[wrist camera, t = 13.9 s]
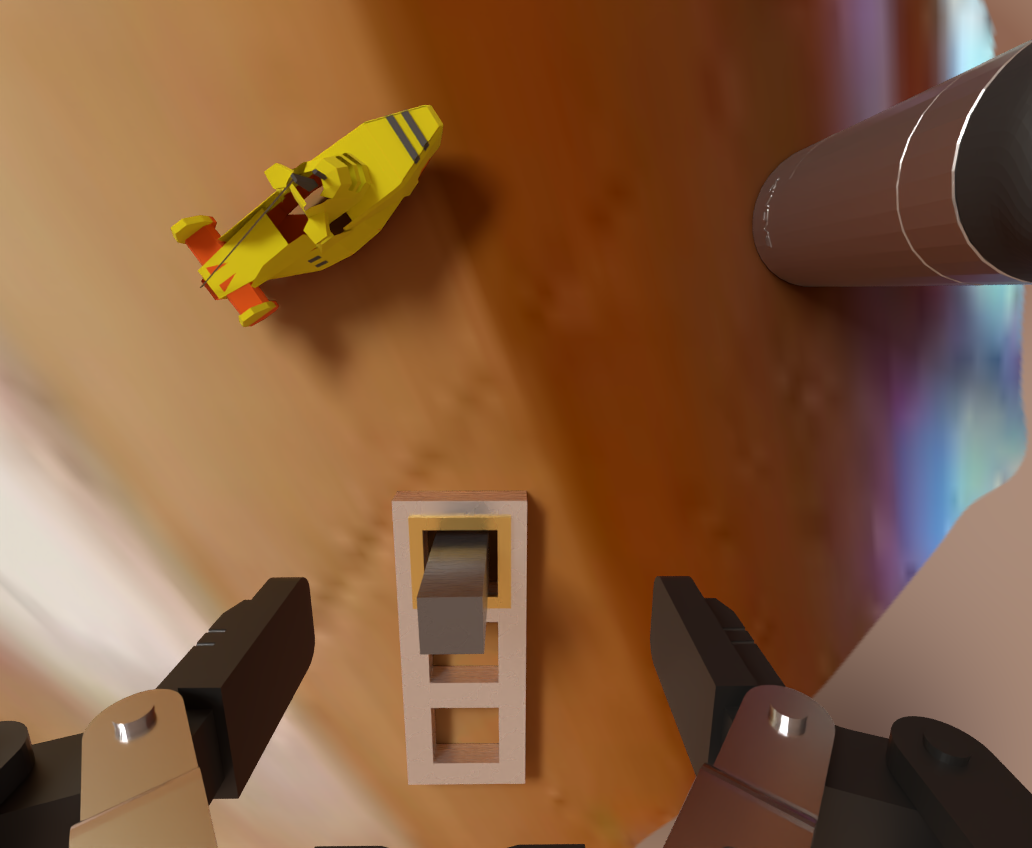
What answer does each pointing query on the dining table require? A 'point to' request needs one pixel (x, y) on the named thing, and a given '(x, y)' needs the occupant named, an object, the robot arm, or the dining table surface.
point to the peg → (455, 594)
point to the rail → (464, 683)
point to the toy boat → (314, 210)
